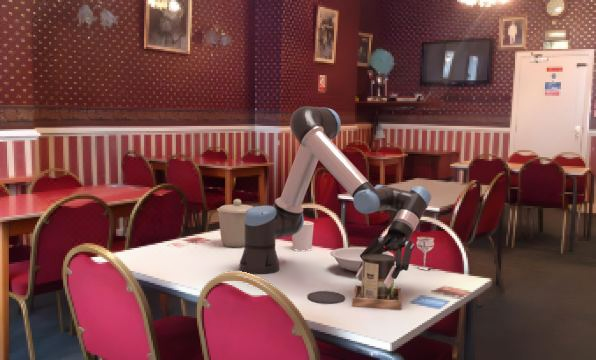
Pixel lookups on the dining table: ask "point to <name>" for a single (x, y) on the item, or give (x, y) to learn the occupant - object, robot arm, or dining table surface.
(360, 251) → the soup bowl
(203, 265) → the dining table surface
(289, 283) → the dining table surface
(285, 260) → the dining table surface
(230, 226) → the canister
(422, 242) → the wineglass
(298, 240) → the candle holder
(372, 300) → the oak caddy
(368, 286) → the coffee can
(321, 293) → the black coaster
